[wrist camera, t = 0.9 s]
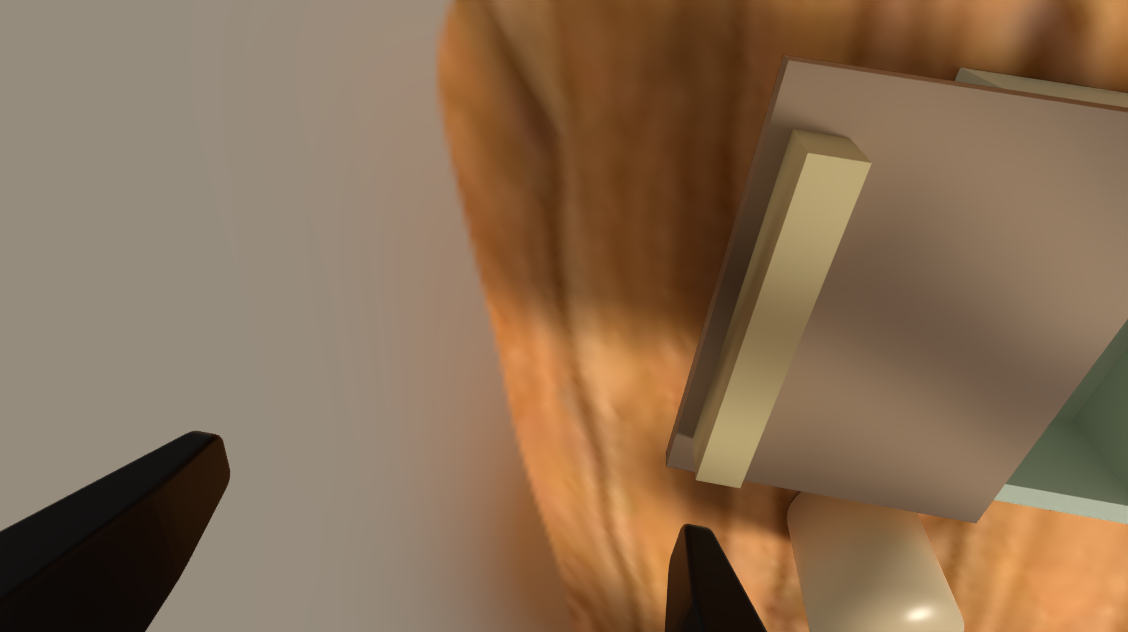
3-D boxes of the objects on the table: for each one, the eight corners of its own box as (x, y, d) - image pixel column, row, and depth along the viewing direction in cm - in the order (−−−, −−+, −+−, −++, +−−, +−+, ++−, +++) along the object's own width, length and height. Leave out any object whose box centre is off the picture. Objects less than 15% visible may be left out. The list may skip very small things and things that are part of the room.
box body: (1071, 428, 22) (1152, 528, 19) (819, 383, 23) (850, 473, 19) (1308, 120, 16) (1496, 179, 13) (960, 67, 17) (1045, 109, 13)
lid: (967, 507, 19) (1000, 571, 17) (666, 452, 19) (666, 508, 17) (1240, 125, 13) (1340, 160, 11) (783, 55, 13) (804, 76, 11)
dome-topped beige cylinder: (885, 564, 27) (925, 681, 23) (771, 543, 28) (791, 654, 23) (936, 487, 25) (992, 603, 21) (809, 464, 25) (839, 574, 21)
